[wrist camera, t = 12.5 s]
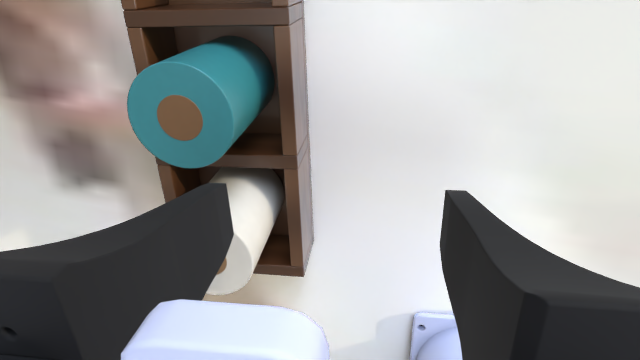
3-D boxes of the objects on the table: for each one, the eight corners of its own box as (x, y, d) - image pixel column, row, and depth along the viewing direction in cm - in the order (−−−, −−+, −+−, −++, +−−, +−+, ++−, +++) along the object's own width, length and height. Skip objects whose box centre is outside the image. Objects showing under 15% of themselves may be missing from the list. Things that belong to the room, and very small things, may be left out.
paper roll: (277, 118, 22) (239, 170, 16) (202, 116, 23) (139, 167, 17) (271, 35, 20) (226, 61, 15) (189, 36, 21) (114, 61, 15)
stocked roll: (287, 223, 25) (257, 299, 19) (219, 219, 26) (171, 292, 20) (282, 159, 23) (247, 221, 18) (209, 156, 24) (153, 216, 18)
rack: (313, 240, 26) (304, 277, 23) (203, 234, 27) (179, 269, 24) (296, -173, 17) (276, -204, 14) (131, -160, 18) (78, -186, 15)
